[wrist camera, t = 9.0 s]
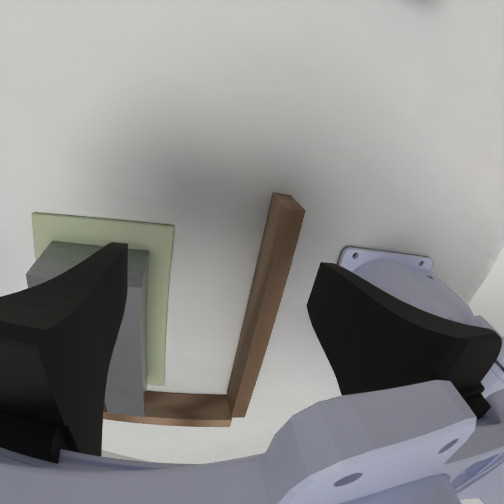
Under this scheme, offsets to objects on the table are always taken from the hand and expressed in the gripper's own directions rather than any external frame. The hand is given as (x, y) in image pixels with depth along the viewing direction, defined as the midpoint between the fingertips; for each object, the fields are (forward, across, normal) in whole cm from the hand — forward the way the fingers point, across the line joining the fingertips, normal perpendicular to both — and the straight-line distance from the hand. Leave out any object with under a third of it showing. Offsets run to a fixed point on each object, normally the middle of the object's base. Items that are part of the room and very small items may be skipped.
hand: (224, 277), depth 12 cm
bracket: (+9, +7, +10) cm, 15 cm away
